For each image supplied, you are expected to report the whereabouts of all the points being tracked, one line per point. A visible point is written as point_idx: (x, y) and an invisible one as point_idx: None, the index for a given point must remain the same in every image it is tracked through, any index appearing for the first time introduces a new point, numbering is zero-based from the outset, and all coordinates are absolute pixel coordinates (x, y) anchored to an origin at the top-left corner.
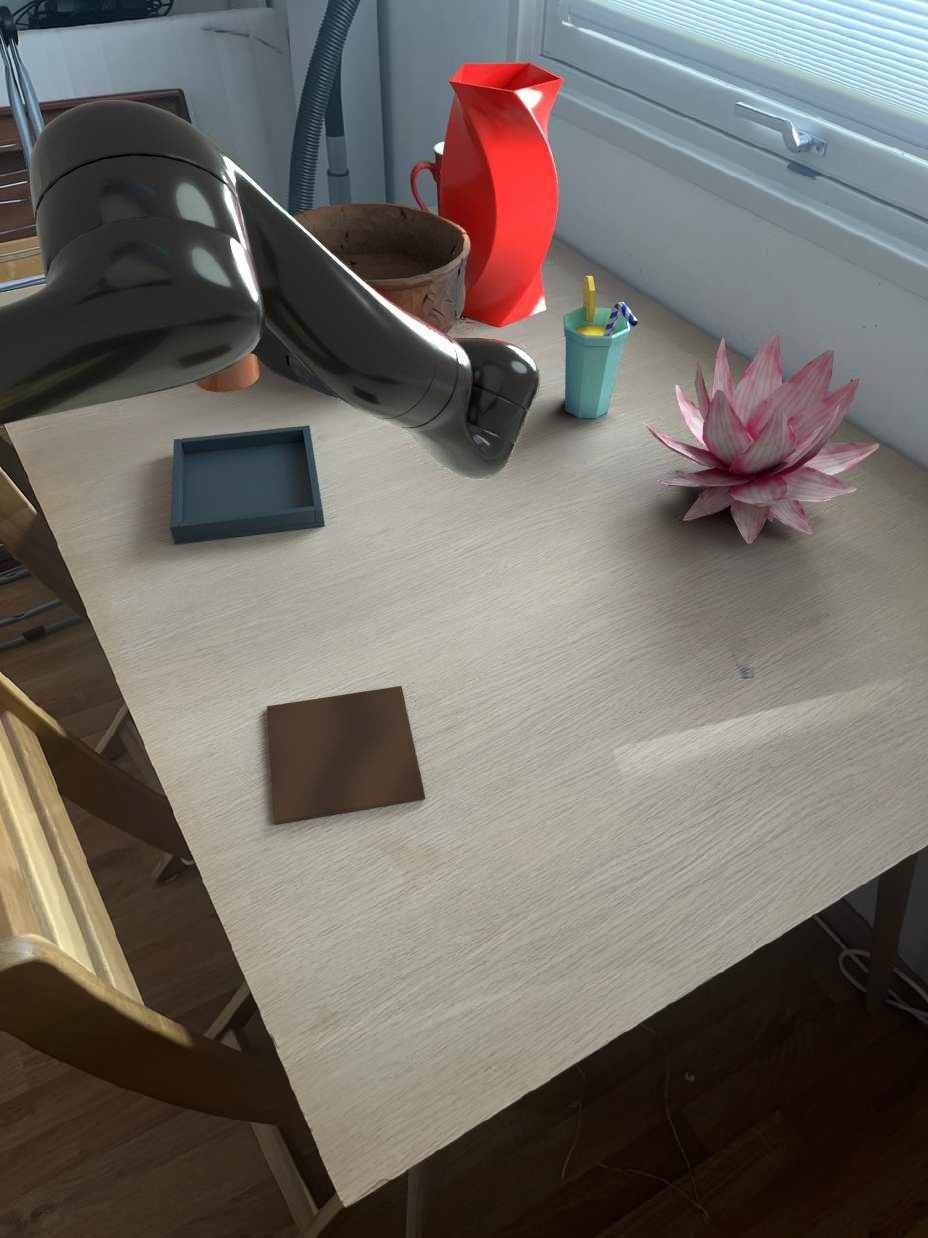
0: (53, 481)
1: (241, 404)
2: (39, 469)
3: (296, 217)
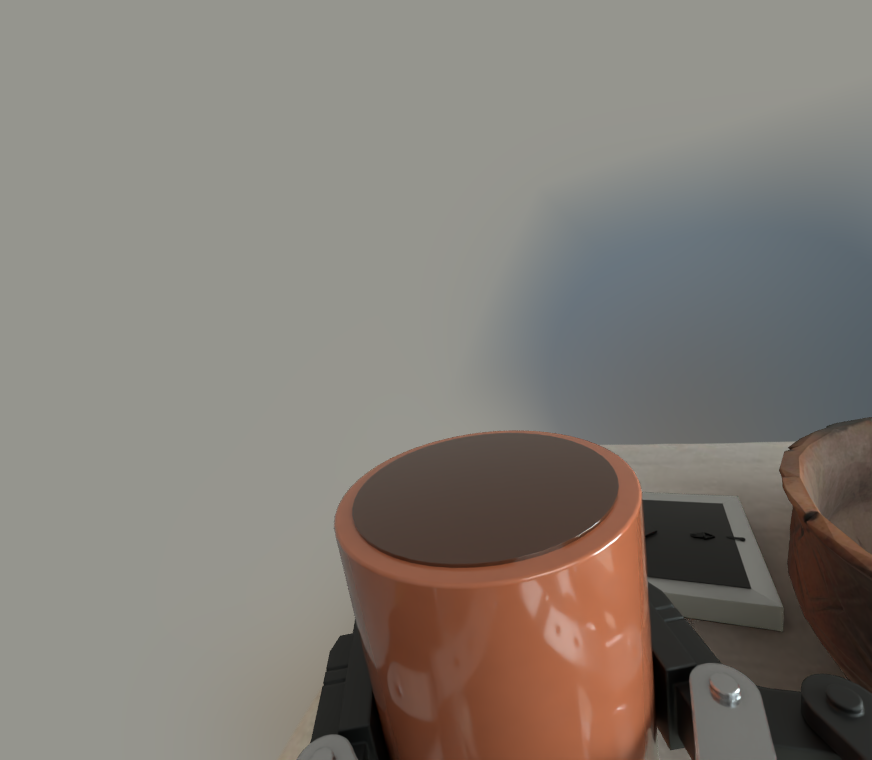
0: (298, 755)
1: (667, 753)
2: (313, 710)
3: (869, 424)
